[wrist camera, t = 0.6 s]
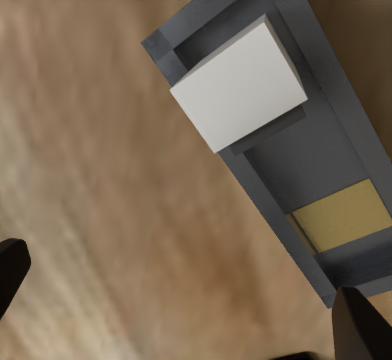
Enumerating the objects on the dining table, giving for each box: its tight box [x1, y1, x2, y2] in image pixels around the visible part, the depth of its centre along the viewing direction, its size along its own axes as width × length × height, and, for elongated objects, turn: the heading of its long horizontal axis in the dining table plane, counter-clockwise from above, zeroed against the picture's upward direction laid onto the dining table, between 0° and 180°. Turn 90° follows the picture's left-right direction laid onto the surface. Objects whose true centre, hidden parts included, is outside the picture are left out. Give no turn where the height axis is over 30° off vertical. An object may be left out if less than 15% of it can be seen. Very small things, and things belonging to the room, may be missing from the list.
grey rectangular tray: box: [141, 0, 392, 309], centre depth 20 cm, size 21×8×3 cm, turn 36°
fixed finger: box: [170, 13, 308, 156], centre depth 15 cm, size 4×4×7 cm
